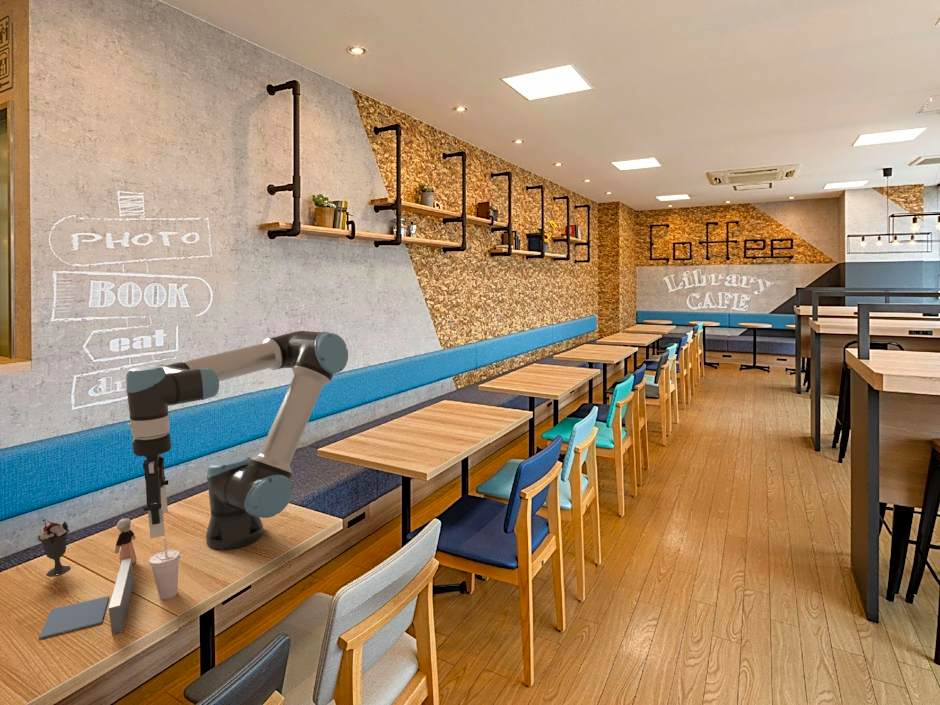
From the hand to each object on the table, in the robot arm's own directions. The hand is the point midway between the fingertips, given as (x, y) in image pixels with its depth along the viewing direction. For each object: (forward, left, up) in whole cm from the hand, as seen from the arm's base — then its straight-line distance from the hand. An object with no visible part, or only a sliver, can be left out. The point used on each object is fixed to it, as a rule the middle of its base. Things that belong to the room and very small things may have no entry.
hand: (159, 524), depth 126 cm
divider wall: (+9, 0, -18) cm, 20 cm away
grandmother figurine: (+10, -21, -18) cm, 29 cm away
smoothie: (0, 0, -18) cm, 18 cm away
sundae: (+26, -26, -18) cm, 41 cm away
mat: (+18, 0, -18) cm, 25 cm away
